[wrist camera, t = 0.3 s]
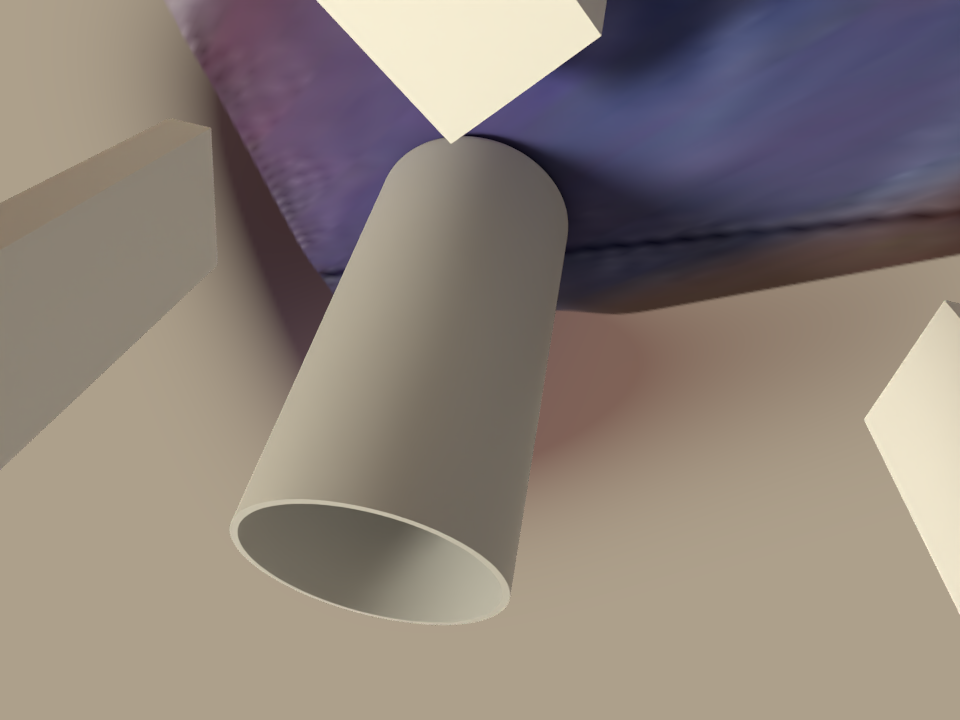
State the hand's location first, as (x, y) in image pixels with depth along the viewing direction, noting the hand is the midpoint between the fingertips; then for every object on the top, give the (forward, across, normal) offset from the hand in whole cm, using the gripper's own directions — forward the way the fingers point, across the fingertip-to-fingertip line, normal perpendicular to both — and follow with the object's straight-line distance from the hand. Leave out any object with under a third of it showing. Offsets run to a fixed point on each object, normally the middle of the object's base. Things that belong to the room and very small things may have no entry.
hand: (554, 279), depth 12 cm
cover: (+26, -6, +4) cm, 27 cm away
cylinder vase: (+31, -4, -13) cm, 34 cm away
